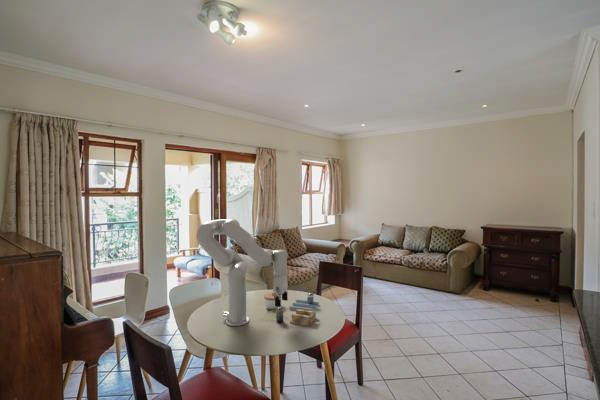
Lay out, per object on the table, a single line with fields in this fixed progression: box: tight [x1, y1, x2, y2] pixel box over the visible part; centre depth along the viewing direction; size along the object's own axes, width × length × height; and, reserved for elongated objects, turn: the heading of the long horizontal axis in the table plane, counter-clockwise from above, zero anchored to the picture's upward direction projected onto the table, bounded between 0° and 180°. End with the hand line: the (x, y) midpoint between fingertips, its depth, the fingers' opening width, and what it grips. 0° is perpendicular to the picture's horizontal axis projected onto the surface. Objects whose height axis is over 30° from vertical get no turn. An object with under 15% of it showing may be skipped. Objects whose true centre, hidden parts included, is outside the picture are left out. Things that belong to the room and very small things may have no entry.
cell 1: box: [275, 306, 284, 324], centre depth 164 cm, size 4×4×8 cm
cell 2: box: [306, 292, 315, 305], centre depth 184 cm, size 4×4×8 cm
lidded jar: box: [263, 292, 282, 310], centre depth 184 cm, size 11×11×9 cm
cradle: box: [289, 309, 317, 327], centre depth 164 cm, size 12×10×4 cm
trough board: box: [288, 298, 320, 312], centre depth 182 cm, size 16×13×3 cm
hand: (281, 303), depth 164 cm, fingers open, 9 cm apart
